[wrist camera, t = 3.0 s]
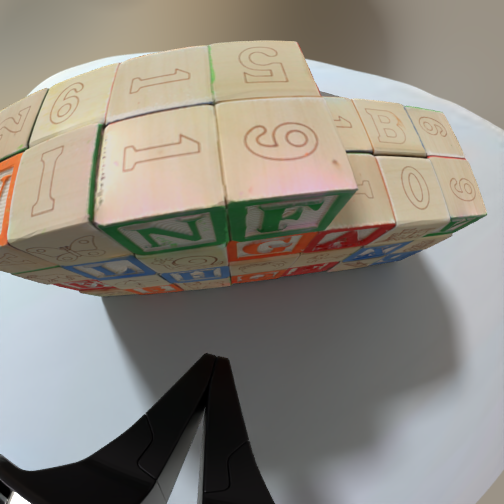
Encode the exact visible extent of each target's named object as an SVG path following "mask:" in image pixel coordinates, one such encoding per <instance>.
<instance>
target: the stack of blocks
mask: <svg viewBox="0 0 504 504" xmlns="http://www.w3.org/2000/svg"><path fill="white" fill-rule="evenodd" d="M486 215H487V212H486V208H485V205H484V202H483V199H482V196H481V193H480V191H479V188H478V185H477V182H476V180H475V177H474V175H473V172H472V169H471V167H470V165H469V162H468V161H467V160H466V159H465V156H464V153H463V151H462V149H461V147H460V144H459V142H458V140H457V138H456V136H455V134H454V132H453V130H452V128H451V126H450V124H449V123H448V121H447V119H446V117H445V115H444V114H443V113H442V112H440V111H434V110H428V109H423V108H418V107H411V106H403V105H401V104H398V103H391V102H384V101H375V100H365V99H348V98H344V97H324V96H321V94H320V91H319V89H318V87H317V85H316V83H315V81H314V79H313V76H312V74H311V71H310V69H309V67H308V65H307V63H306V61H305V58H304V56H303V53H302V51H301V49H300V46H299V44H298V43H297V42H295V41H241V42H226V43H216V44H212V45H208V46H193V47H184V48H179V49H173V50H168V51H163V52H158V53H153V54H148V55H143V56H140V57H136V58H132V59H129V60H127V61H124V62H122V63H115V64H111V65H107V66H104V67H101V68H98V69H95V70H92V71H89V72H87V73H84V74H81V75H78V76H75V77H73V78H70V79H68V80H65V81H63V82H60V83H58V84H56V85H54V86H52V87H51V88H50V89H48V88H45V89H42V90H39V91H37V92H35V93H33V94H31V95H29V96H27V97H25V98H23V99H21V100H20V101H18V102H16V103H14V104H12V105H10V106H8V107H6V108H5V109H3V110H1V111H0V271H3V272H7V273H10V274H12V275H15V276H18V277H22V278H24V279H28V280H32V281H35V282H39V283H43V284H53V285H56V286H59V287H64V288H69V289H73V290H77V291H78V290H79V292H80V293H83V294H89V295H94V296H101V297H104V296H117V295H130V294H139V295H145V294H156V293H167V292H177V291H184V290H199V289H208V288H217V287H226V286H231V285H232V284H234V283H244V282H251V281H260V280H268V279H276V278H279V277H282V276H292V275H299V274H306V273H313V272H321V271H326V272H334V271H341V270H348V269H354V268H361V267H366V266H369V265H376V264H382V263H388V262H394V261H399V260H402V259H404V258H407V257H408V256H411V255H413V254H415V253H417V252H420V251H422V250H423V249H427V248H429V247H431V246H433V245H435V244H437V243H439V242H441V241H443V240H445V239H447V238H449V237H451V236H452V233H454V232H456V231H458V230H460V229H462V228H464V227H466V226H468V225H470V224H472V223H474V222H476V221H477V220H479V219H481V218H483V217H485V216H486Z"/></svg>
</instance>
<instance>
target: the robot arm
mask: <svg viewBox="0 0 504 504" xmlns="http://www.w3.org/2000/svg"><path fill="white" fill-rule="evenodd" d="M205 407H206V408H205ZM204 411H205V415H204V424H203V435H202V446H201V458H200V471H199V484H198V499H197V504H275V503H274V501H273V499H272V497H271V495H270V493H269V491H268V489H267V487H266V484H265V482H264V480H263V478H262V476H261V474H260V471H259V469H258V466H257V464H256V461H255V458H254V455H253V452H252V448H251V445H250V441H248V440H249V438H248V434H247V430H246V427H245V423H244V419H243V415H242V411H241V407H240V403H239V399H238V395H237V391H236V387H235V382H234V378H233V374H232V370H231V365H230V361H229V359H228V358H225V357H220V356H218V357H216V356H215V355H212V354H208V353H205V354H204V355H203V356H202V357H201V358H200V359H199V360H198V361H197V362H196V363H195V364H194V365H193V366H192V367H191V368H190V369H189V370H188V371H187V372H186V373H185V374H184V375H183V376H182V377H181V378H180V379H179V380H178V381H177V382H176V383H175V384H174V385H173V386H172V387H171V388H170V389H169V390H168V391H167V392H166V393H165V394H164V395H163V396H162V397H161V398H160V399H159V400H158V401H157V402H156V403H155V404H154V405H153V406H152V407H151V408H150V409H149V410H148V411H147V412H146V415H145V414H144V415H143V416H142V417H141V418H140V419H139V420H138V421H137V422H136V423H135V424H133V425H132V426H131V427H130V428H129V429H128V430H126V431H125V432H124V433H123V434H121V435H120V436H119V437H117V438H116V439H114V440H113V441H112V442H110V443H109V444H107V445H106V446H104V447H103V448H101V449H100V450H98V451H97V452H95V453H94V454H92V455H91V456H89V457H87V458H85V459H83V460H81V461H78V462H75V463H71V464H67V465H62V466H58V467H53V468H47V469H42V470H36V471H26V470H22V469H20V468H19V467H17V466H16V465H15V464H13V463H12V462H11V461H9V460H8V459H7V458H5V457H4V456H3V455H1V454H0V504H167V501H168V499H169V497H170V494H171V492H172V490H173V487H174V485H175V482H176V480H177V478H178V475H179V473H180V470H181V468H182V465H183V463H184V461H185V458H186V456H187V453H188V451H189V448H190V446H191V443H192V441H193V438H194V436H195V434H196V431H197V429H198V426H199V424H200V421H201V419H202V416H203V413H204Z"/></svg>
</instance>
